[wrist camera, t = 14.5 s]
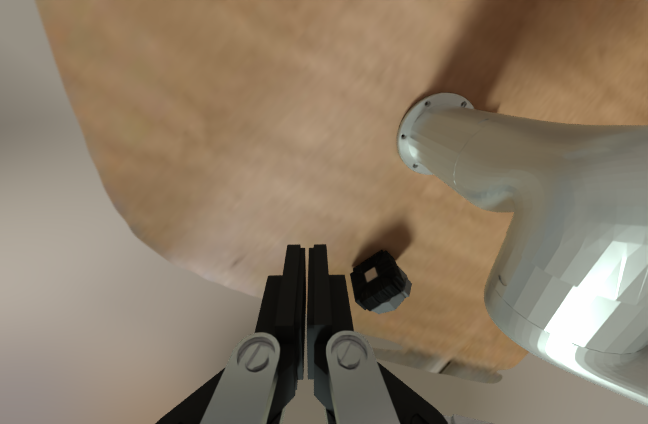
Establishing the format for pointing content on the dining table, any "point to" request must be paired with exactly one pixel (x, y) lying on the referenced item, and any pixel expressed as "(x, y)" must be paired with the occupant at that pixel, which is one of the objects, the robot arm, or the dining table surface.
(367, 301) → the cpu cooler
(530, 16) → the dining table surface
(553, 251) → the robot arm
